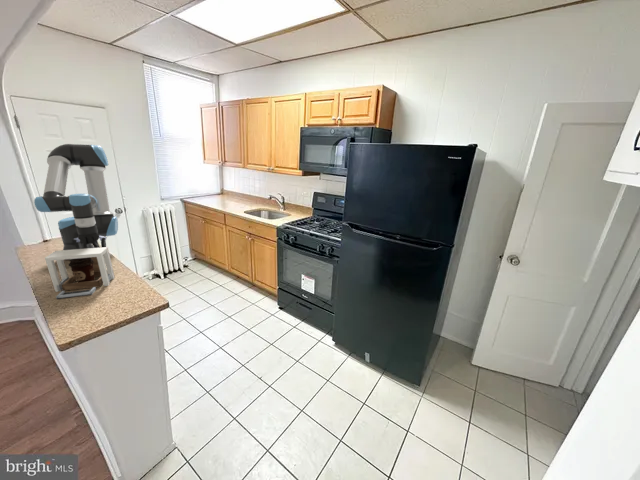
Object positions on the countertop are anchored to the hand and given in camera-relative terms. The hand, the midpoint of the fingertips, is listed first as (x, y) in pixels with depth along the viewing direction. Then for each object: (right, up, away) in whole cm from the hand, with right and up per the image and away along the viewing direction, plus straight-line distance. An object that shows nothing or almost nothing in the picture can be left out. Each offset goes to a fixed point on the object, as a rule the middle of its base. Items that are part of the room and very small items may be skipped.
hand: (97, 268), depth 136 cm
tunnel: (+5, -6, -12) cm, 14 cm away
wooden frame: (+3, -4, -7) cm, 9 cm away
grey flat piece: (+9, -9, -20) cm, 24 cm away
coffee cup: (+5, -6, -11) cm, 14 cm away
